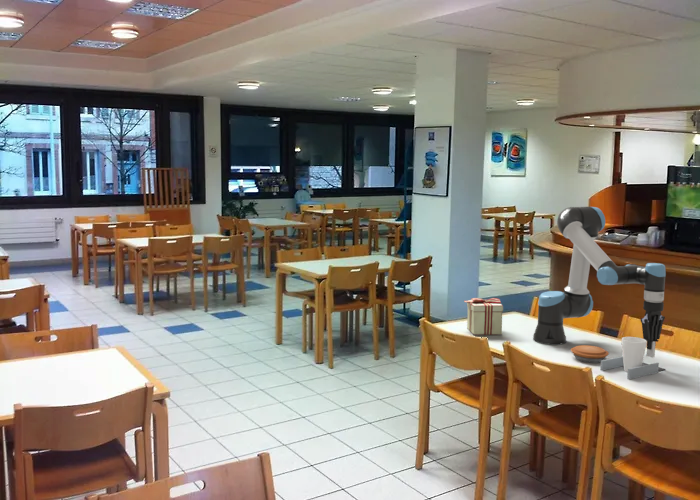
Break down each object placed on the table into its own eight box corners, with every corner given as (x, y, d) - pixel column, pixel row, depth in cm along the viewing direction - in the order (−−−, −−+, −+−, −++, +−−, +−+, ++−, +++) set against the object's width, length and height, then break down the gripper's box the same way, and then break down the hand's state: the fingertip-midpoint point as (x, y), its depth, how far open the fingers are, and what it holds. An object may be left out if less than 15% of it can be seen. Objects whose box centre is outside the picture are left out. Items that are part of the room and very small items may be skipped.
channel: (600, 370, 267) (600, 360, 267) (628, 363, 276) (629, 354, 276) (629, 379, 255) (629, 369, 255) (657, 372, 264) (658, 363, 264)
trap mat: (630, 364, 275) (630, 363, 275) (639, 362, 278) (639, 361, 278) (656, 372, 265) (656, 371, 265) (665, 369, 268) (665, 369, 268)
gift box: (491, 326, 341) (492, 294, 339) (504, 335, 323) (506, 301, 320) (460, 327, 338) (461, 294, 336) (471, 336, 320) (472, 301, 318)
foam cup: (615, 367, 271) (617, 336, 269) (636, 367, 272) (638, 336, 270) (627, 374, 262) (629, 342, 260) (649, 374, 262) (651, 342, 261)
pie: (562, 356, 287) (563, 345, 286) (589, 352, 293) (589, 341, 292) (588, 366, 273) (589, 354, 272) (616, 362, 279) (616, 350, 279)
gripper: (651, 303, 262) (648, 360, 265) (671, 300, 269) (668, 356, 271) (635, 300, 269) (632, 356, 271) (655, 297, 275) (652, 352, 278)
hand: (650, 356), depth 271 cm, fingers closed
